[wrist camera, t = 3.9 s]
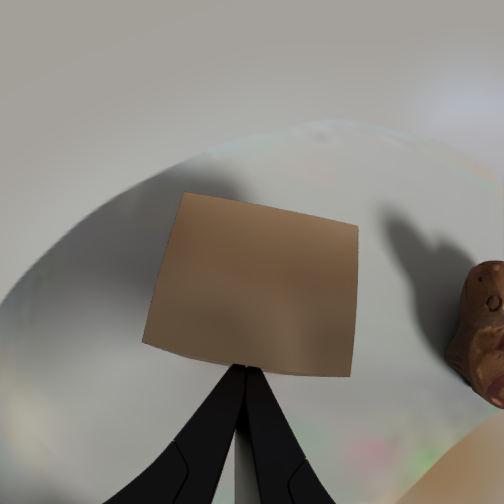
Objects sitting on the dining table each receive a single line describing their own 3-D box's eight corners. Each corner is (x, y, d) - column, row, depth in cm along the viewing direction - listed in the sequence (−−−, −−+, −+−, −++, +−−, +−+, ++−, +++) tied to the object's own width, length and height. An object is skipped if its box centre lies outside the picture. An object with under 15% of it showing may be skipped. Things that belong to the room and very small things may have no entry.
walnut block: (286, 374, 16) (349, 377, 8) (184, 356, 16) (141, 342, 7) (297, 294, 18) (358, 226, 10) (201, 276, 18) (184, 191, 9)
